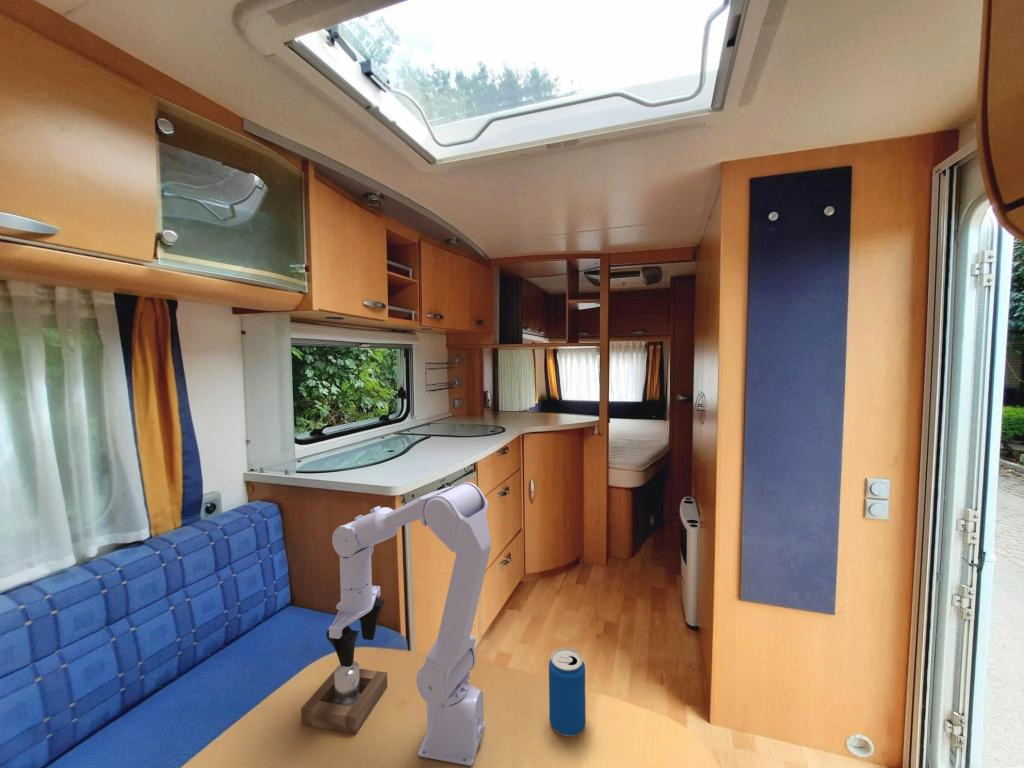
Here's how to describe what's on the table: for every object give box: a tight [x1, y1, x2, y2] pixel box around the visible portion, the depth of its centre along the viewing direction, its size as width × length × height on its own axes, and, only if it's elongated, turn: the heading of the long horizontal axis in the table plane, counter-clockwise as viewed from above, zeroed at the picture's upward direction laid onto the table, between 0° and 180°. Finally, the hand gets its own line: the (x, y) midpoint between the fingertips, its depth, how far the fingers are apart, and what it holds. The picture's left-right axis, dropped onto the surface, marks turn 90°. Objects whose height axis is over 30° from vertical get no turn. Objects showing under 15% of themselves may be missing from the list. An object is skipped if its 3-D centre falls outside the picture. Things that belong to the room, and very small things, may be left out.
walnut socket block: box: [300, 668, 388, 735], centre depth 77 cm, size 11×11×3 cm
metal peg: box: [333, 660, 361, 706], centre depth 77 cm, size 4×4×7 cm
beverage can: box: [548, 647, 587, 737], centre depth 72 cm, size 6×6×12 cm
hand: (358, 651), depth 79 cm, fingers open, 7 cm apart
